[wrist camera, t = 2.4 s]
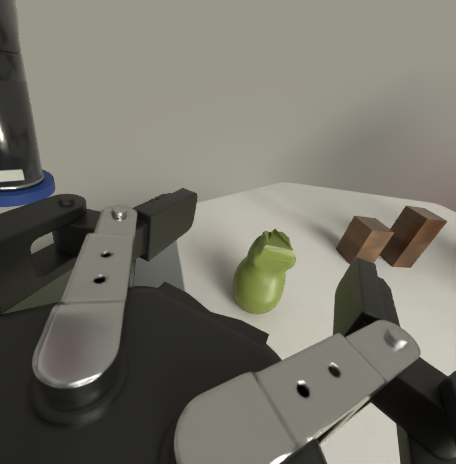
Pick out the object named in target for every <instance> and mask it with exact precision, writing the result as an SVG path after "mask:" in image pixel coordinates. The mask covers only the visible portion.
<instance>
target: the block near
mask: <svg viewBox="0 0 456 464" xmlns="http://www.w3.org/2000/svg"><path fill="white" fill-rule="evenodd" d="M393 234H394V232H393V231H392V230H390V229H389V228H388V227H386V226H385V225H384V224H382V223H381V222H380V221H378V220H377V219H376V218H369V217H360V216H354V218H353V219H352V221H351V223H350V225H349V226H348V228H347V230H346V232H345V234H344V235H343V237H342V239H341V241H340V243H339V244H338V246H337V248H336V249H337V250H338V251H339V252H340V254H341V255H342V256H343V257H344V258H345V259H346V260H347V261H348V262H349V264H350V265H351V263H352V261H353V260H354V259H355V258H356V257H359V258H361V259H364V260H366V261H369V262H372V263H374V262H375V260H376V259H377V257H378V256H379V254H380V253H381V251H382V250H383V248H384V247H385V245H386V244H387V243H388V241H389V240H390V238H391V237H392V235H393Z"/></svg>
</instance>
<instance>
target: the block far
mask: <svg viewBox="0 0 456 464" xmlns="http://www.w3.org/2000/svg"><path fill="white" fill-rule="evenodd" d="M446 223H447V221H446V220H444V219H443V218H441V217H439V216H437V215H436V214H434V213H432V212H430V211H429V210H427V209H425V208H419V207H411V206H405V208H404V209H403V211H402V212H401V214H400V215H399V217H398V218H397V220H396V221H395V223H394V224H393V226H392V227H391V229H390V230H392V231H393V232H394V234H393V235H392V237H391V238H390V240H389V241H388V243H387V244H386V245H385V247H384V248H383V250H382V251H381V253H380V254H379V255H380V256H382V257H383V258H384V259H385V260H386V261H387V262H388V263H389V264H390V265H391V266H393V267H412V265H413V264H414V263H415V262H416V260H417V259H418V258H419V257H420V255H421V254H422V253H423V252H424V250H425V249H426V248H427V246H428V245H429V244H430V243H431V241H432V240H433V239H434V238H435V236H436V235H437V234H438V233H439V231H440V230H441V229H442V228H443V226H444V225H445V224H446Z"/></svg>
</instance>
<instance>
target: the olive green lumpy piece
mask: <svg viewBox="0 0 456 464" xmlns="http://www.w3.org/2000/svg"><path fill="white" fill-rule="evenodd" d="M295 262H296V258H295V254H294V250H293V249H292V247H291V244H290V240H289V238H288V237H287V236H286V235H285V234H284V233H283V232H278V231H277V230H276V229H274V230H273V231H272V232H267V231H265V232H263V234H262V235H261V236H259V237H258V238H257V239H256V240H255V241H254V243H253V244H252V245H251V247H250V249H249V252H248V255H247V257H246V258H245V259H243V260H242V262H241V263H240V264H239V266H238V267H237V270H236V272H235V276H234V282H233V293H234V297H235V300H236V302H237V303H238V305H239V306H240V307H241V308H242V309H243V310H245V311H247V312H249V313H252V314H263V313H266V312H269V311H270V310H272V309H273V308H274V307H275V306H276V305H277V303H278V302H279V300H280V298H281V295H282V292H283V289H284V285H285V272H286V270H288V269H290V268H292V267H293V266H294V264H295Z"/></svg>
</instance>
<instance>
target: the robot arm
mask: <svg viewBox="0 0 456 464" xmlns="http://www.w3.org/2000/svg"><path fill="white" fill-rule="evenodd" d="M43 181H44V173H43V172H42V166H41V161H40V154H39V148H38V143H37V137H36V132H35V126H34V121H33V115H32V109H31V104H30V98H29V92H28V87H27V81H26V76H25V70H24V65H23V59H22V54H21V47H20V41H19V23H18V15H17V8H16V2H15V0H0V192H13V191H21V190H26V189H30V188H33V187H36V186H38V185H40V184H41V183H42V182H43ZM196 203H197V194H196V193H194V192H192V191H189V190H187V189H184V188H182V189H180V190H178V191H176V192H174V193H169V194H162V195H160V196H158V197H155V199H151V200H149V201H147V202H145V203H143V204H140V205H138V206H137V207H134V208H130V207H126V206H110V207H107V208H105V209H103V210H102V211H101V212H99V211H94V210H90V209H87V208H86V200H85V199H84V198H83V197H81V196H78V195H74V194H60V195H55V196H52V197H49V198H46V199H43V200H40V201H37V202H34V203H31V204H28V205H25V206H22V207H19V208H16V209H13V210H10V211H7V212H4V213H1V214H0V464H327V462H326V459H325V457H324V454H323V452H322V450H321V447H320V445H321V444H322V443H323V442H325V441H326V440H327V439H328V438H329V437H330V436H331V435H332V434H334V433H335V432H336V431H337V430H338V429H339V428H341V427H342V426H343V425H344V424H346V423H347V422H348V421H349V420H350V419H352V418H353V417H354V416H355V415H357V414H358V413H359V412H360V411H362V410H363V409H364V408H365V407H366V406H368V405H369V404H370V403H372V404H374V405H375V406H376V407H377V408H378V409H380V410H381V411H382V412H383V413H384V414H386V415H387V416H388V417H389V418H390V419H392V420H393V421H394V422H395V423H396V426H397V435H398V444H399V454H400V463H401V464H456V371H454V372H453V373H452V374H451V375H449V376H446V375H445V374H443V373H442V372H440V371H439V370H437V369H436V368H434V367H433V366H431V365H430V364H429V363H427V362H426V361H424V360H423V359H422V358H420V349H419V346H418V344H417V343H416V341H415V340H414V339H413V338H412V337H411V335H410V334H408V333H407V332H406V331H405V330H404V329H402V328H401V327H400V324H399V320H398V316H397V312H396V309H395V306H394V301H393V299H392V298H393V297H392V293H391V289H390V287H389V286H388V285H387V283H386V282H385V281H384V279H382V278H379V277H378V276H377V271H376V266H375V264H374V263H372V262H369V261H366V260H364V259H361V258H359V257H356V258H355V259H354V260H353V261H352V263H351V265H350V266H349V268H348V270H347V271H346V273H345V274H344V276H343V278H342V279H341V281H340V283H339V285H338V287H337V289H336V293H335V305H334V325H333V336H331V337H329V338H327V339H325V340H323V341H321V342H319V343H317V344H315V345H312V346H310V347H308V348H306V349H304V350H302V351H300V352H298V353H296V354H294V355H292V356H290V357H288V358H286V359H284V360H281V358H280V357H279V356H278V355H277V354H276V353H275V352H274V351H273V350H272V349H271V348H270V347H269V346H268V345H267V344H266V342H267V339H268V336H269V334H267V333H265V332H263V331H261V330H259V329H257V328H255V327H253V326H251V325H249V324H247V323H245V322H243V321H241V320H238V319H234V318H231V317H227V316H223V315H220V314H216V313H213V312H210V311H209V310H207V309H206V308H205V307H204V306H203V305H201V304H200V303H199V302H198V301H197V300H195V299H194V298H193V297H192V296H191V295H189V294H188V293H186V292H184V291H182V290H180V289H178V288H176V287H174V286H172V285H170V284H168V283H166V282H164V283H163V284H162V285H161V286H160V287H159V288H154V287H147V286H134V287H133V285H134V274H135V262H136V259H137V258H138V257H140V258H142V259H144V260H146V261H150V260H151V259H152V258H154V257H155V256H156V255H157V254H158V253H160V252H161V251H163V250H164V249H165V248H166V247H168V246H169V245H170V244H172V243H173V242H174V241H175V240H177V239H178V238H179V237H181V236H182V235H183V234H184V233H186V232H187V231H188V230H189V229H190V228H191V226H192V224H193V220H194V215H195V209H196ZM50 232H52V234H53V240H54V243H53V244H51V245H49V246H47V247H45V248H43V249H41V250H40V251H38V252H36V253H34V254H32V255H31V251H30V248H31V245H32V243H33V242H34V241H35V240H36V239H37V238H39V237H41V236H43V235H45V234H48V233H50ZM73 267H74V269H73V271H72V273H71V276H70V279H69V281H68V284H67V286H66V289H65V291H64V294H63V297H62V299H61V301H60V302H57V303H53V304H48V305H43V306H39V307H34V308H30V309H25V310H21V311H16V312H11V313H6V314H2V313H4V312H5V311H7V310H8V309H10V308H11V307H13V306H14V305H16V304H18V303H19V302H21V301H22V300H24V299H25V298H27V297H28V296H30V295H32V294H33V293H35V292H36V291H38V290H39V289H41V288H42V287H44V286H45V285H47V284H48V283H50V282H52V281H53V280H55V279H56V278H58V277H59V276H61V275H62V274H64V273H66V272H67V271H69V270H70V269H72V268H73ZM1 314H2V315H1Z"/></svg>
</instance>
